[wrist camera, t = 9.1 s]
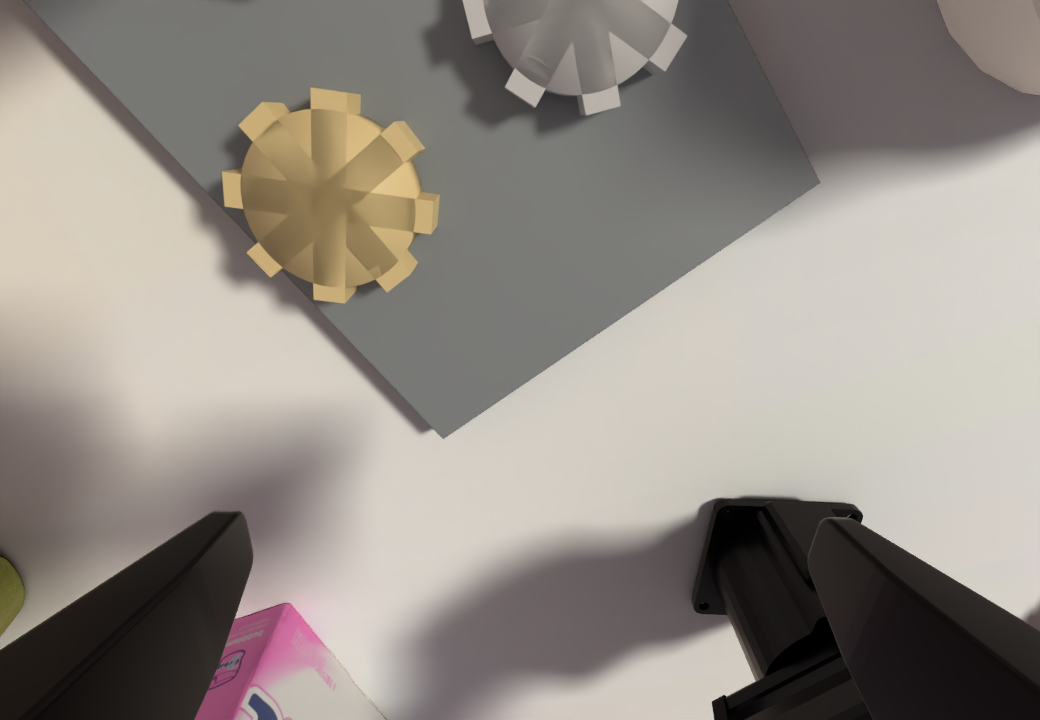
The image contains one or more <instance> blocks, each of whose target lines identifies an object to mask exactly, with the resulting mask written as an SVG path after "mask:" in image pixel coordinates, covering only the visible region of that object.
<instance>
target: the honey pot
mask: <svg viewBox="0 0 1040 720" xmlns="http://www.w3.org/2000/svg"><path fill="white" fill-rule="evenodd" d="M937 3H938V5H939V8H940V11H941V13H942V16H943V18H944V21H945V24H946V26H947V29H948V31H949V34H950V35H951V36H952V37H953V38H954V39H955V41H956V42H957V43H958V44H959V45H960V47H961V48H962V49H963V50H964V51H965V53H966V54H967V55H968V56H969V57H970V58H971V60H972V61H973V62H974V63H975V64H976V66H977V67H978V68H979V69H980V70H981V71H983V72H985V73H987V74H988V75H990V76H992V77H994V78H996V79H997V80H999V81H1001V82H1003V83H1005V84H1006V85H1008V86H1010V87H1012V88H1014V89H1016V90H1017V91H1019V92H1022V93H1028V94H1034V95H1040V0H937Z"/></svg>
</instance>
